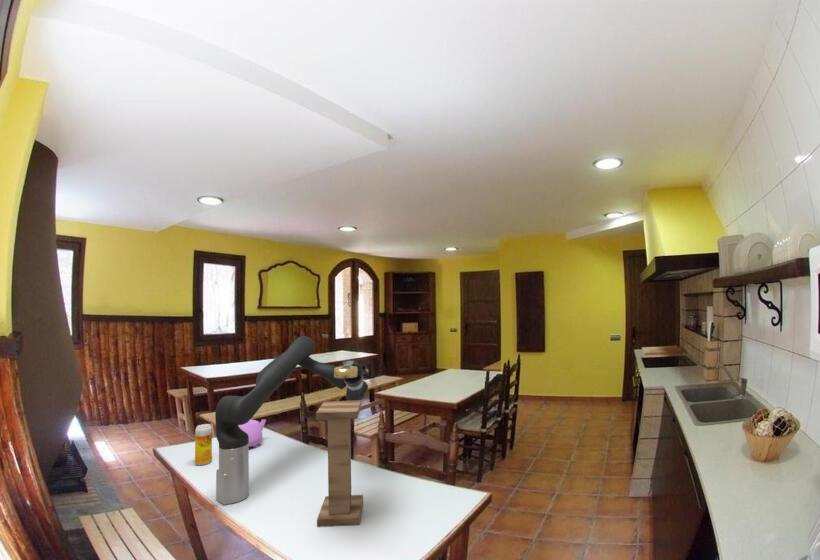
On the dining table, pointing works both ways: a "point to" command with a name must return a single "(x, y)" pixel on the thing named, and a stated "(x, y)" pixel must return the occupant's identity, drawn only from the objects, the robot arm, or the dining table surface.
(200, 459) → the beer can
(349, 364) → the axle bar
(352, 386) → the robot arm
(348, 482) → the wooden stand
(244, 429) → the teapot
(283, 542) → the dining table surface
